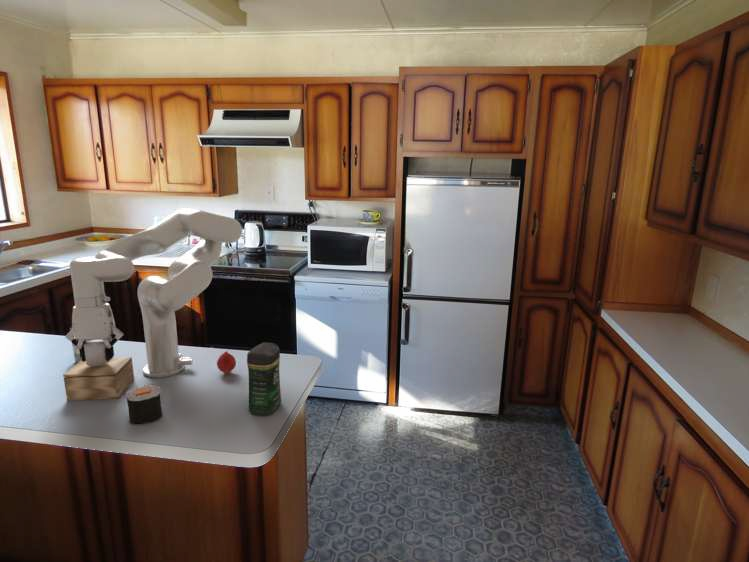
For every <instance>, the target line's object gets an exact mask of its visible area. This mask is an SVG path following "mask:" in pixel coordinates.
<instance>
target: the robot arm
mask: <svg viewBox="0 0 749 562" xmlns="http://www.w3.org/2000/svg"><path fill="white" fill-rule="evenodd" d="M242 227H243V226H242V225H241V223H240V222H239V221H238V219H236V218H233V217H229V216H224V215H220V214H216V213H213V212H208V211H205V210H201V209H194V208H188V207H187V208H184V207H183V208H179V209H178V210H176V211H175V212H173V213H172V214H169V215H167V216H166V217H165V218H163V219H162V220H160V221H158V222H156V223H155V224H153V225H151V226H150V227H149V228H147V229H144V230H141V231H140V232H136V233H134V234H132V235H129V236H127V237H124V238H122V239H120V240H118V241H116V242H114V243H112V244H111V245H109V246H108V247H106V248H104V249H103V250H100V252H98V253H97V254H96V255H95V256H94V257H78V258H74V259H72V260H71V261H70V263H69V270H70V276H71V277H70V278H71V285H72V291H73V292H72V293H73V299H74V306H73V307H72V315H71V327H72V329H71V331H69V332H68V333H67V334H66V335H65V338H66V340H68V341H70V342H71V344H72V343H73V344H74V345H75V346H77V348H78V349H79V352H80V358H82V362H85V361H86V358H85V351H84V343H86V341H87V340H103V341H104V343H105V345H106V348H105V354H106V361H110V360H111V359H112V358H114V357H115V350H114V345H115V344H116V343H117V342H118V341H119V340H120V339H121V338H122V337H123V336H124V332H122V331H121V330H120V329H119V328H117V327H116V322H115V318H114V314H113V313H114V312H113V310H112V308H111V305H110V303H108V302H110V301H111V297H110V296H106V295H107V294H106V292H105V283H107V282H111V283H112V282H123V281H127V280H128V279H130V278H131V277H132V276H133V274H134V272H135V265H134V262H133V261H134V260H137V259H140V258H141V257H146V256H152V255H153V256H154V255H155V256H156V255H158V254H163V253H165V252H167V251H168V250H170V249H171V248H173V247H174V246H176V245H178V244H179V243H181V242H182V241H184V240H185V239H187V238H188V237H190V236H193V237H197V238H199V241H198V243H197V244H196V245H195V246H193V247H192V248H190V250H188V251H187V252H185V253H184V254H183V255H181V256H180V257H178V258H177V259H175V260H174V261H173V262H171V264H169V267H168V269H167V275H168V277H169V278H167V277H162V276H159V275H150V276H147V277H144V278H143V279H142V280H141V281H140V283H139V284H138V286H137V299H138V300H137V301H138V303H139V307H140V310H141V311H140V312H141V315H142V323H143V331H144V332H143V333H144V334H143V335H144V341H145V342H144V343H145V351H146V360H147V361H146V362H147V364H146V365H145V366H144V367H143V368H142V373H143V374H144V375H145V376H146V377H149V378H165V377H170V376H171V377H172V376H174V375H176V374H179V373H180V372H181V371H182V372H183V370H184V369H185V366H192V365H193V359H192V358H191V356H190V357H189V356H186V357H184V356H182V352H179V344H178V342H179V341H178V333H177V321H176V319H177V318H176V313H175V312H176V311H178V310H181V309H183V307H185V306H186V305H187V304H188V303H190V302H191V301H192V300H194V299H195V298H196V297H197V296H199V295H201V293H202V292H203V291H205V290H206V289H207V288H208V287H209V285H210V284H211V282H212V279H213V276H214V275H213V269H212V266H214V265H215V264H216V262H217V261H219V259H220V256H221V253H222V246H223V245H222V244H223V243H225V244H233V243H236V242H237V241H239V240H240V239H241V238H242V234H243V228H242ZM104 282H105V283H104ZM112 335H115V336H114V338H113V337H112Z"/></svg>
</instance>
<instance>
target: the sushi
mask: <svg viewBox="0 0 749 562" xmlns="http://www.w3.org/2000/svg"><path fill="white" fill-rule="evenodd" d="M161 392H162V391H161V388H160V386H158V385H156V384H155V385H154V384H151V385H150V384H148V385H143V386H141V387H136V388H134V389H133V388H132V389H131V390H128V391H126V393H125V394H126V395H125V397H126V404H127V410H128V421H129V423H130V424H131V425H137V426H138V425H145V424H150V423H154V422H157V421H159V420H160V419H161V418H162V417H163V410H162V400H161Z"/></svg>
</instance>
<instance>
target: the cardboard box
mask: <svg viewBox="0 0 749 562" xmlns="http://www.w3.org/2000/svg"><path fill="white" fill-rule="evenodd" d="M134 374H135V373H134V366H133V359H132V360H131V361H130V362H129V363H128V364H127V365H126V366H125V367H124V368H123V369H122V370H121V371H120V372H119V373H118V374H117V375H102V376H75V377H63V383H64V390H65V396H66V401H68V402H69V401H87V400H90V401H92V400H111V399H112V400H117V399H120V398H121V397H122V395H124V393H125V392H127V391H126V390H127V389H128V388H129V387H130V386H131V385H132V384H133V382H134V381H135V375H134ZM130 384H131V385H130Z"/></svg>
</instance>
